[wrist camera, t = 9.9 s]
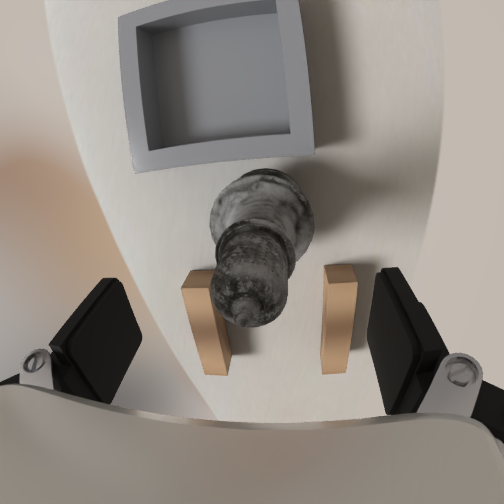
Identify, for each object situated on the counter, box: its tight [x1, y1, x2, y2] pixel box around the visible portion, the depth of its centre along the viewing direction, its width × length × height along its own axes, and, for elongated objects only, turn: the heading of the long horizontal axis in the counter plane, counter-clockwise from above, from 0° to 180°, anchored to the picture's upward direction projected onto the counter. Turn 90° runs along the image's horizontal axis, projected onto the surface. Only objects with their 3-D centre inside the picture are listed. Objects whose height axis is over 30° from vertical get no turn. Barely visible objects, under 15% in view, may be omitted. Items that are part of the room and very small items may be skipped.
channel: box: [181, 264, 358, 376], centre depth 22 cm, size 9×12×2 cm
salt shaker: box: [210, 169, 314, 327], centre depth 14 cm, size 6×6×12 cm
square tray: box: [118, 0, 315, 174], centre depth 15 cm, size 10×10×3 cm
